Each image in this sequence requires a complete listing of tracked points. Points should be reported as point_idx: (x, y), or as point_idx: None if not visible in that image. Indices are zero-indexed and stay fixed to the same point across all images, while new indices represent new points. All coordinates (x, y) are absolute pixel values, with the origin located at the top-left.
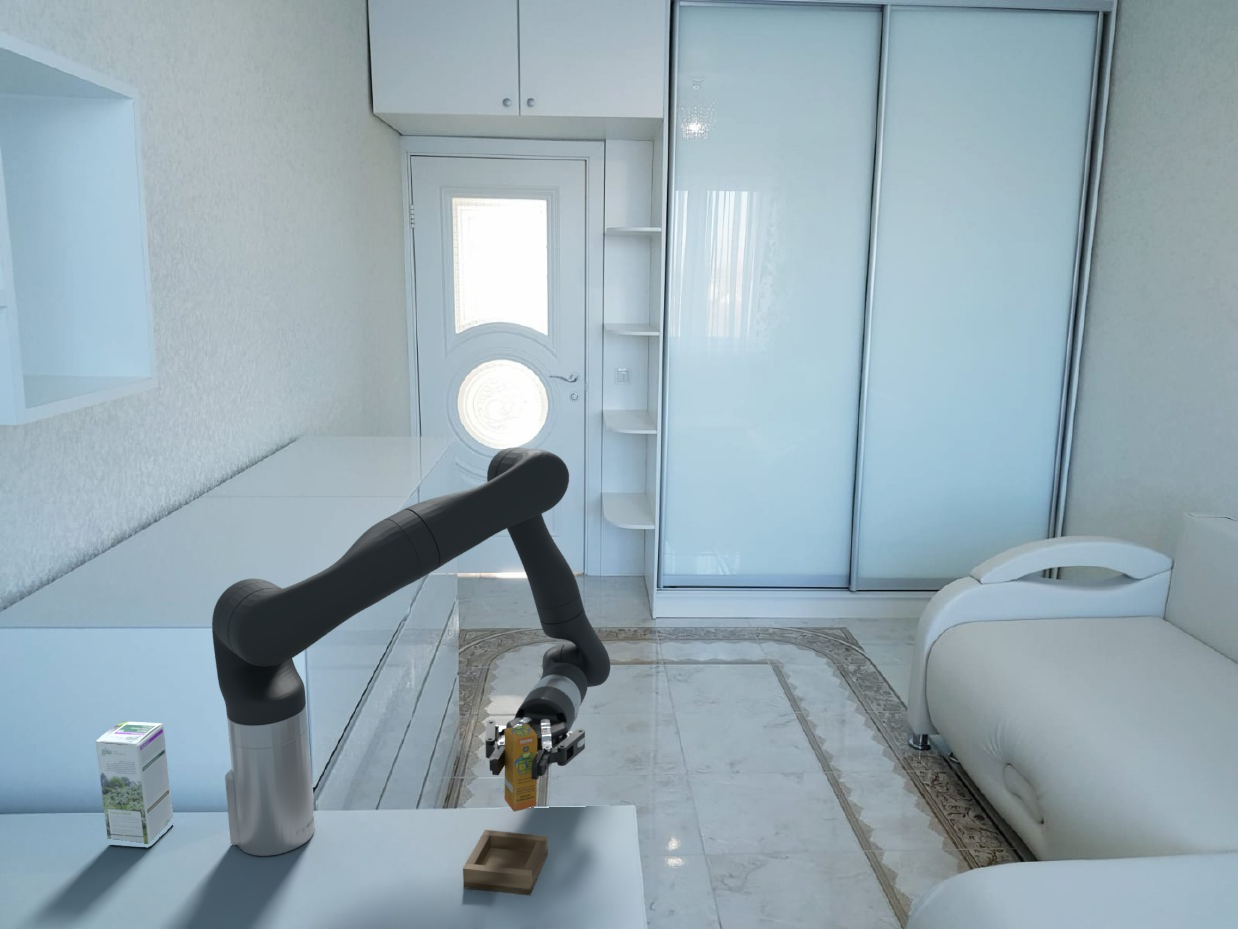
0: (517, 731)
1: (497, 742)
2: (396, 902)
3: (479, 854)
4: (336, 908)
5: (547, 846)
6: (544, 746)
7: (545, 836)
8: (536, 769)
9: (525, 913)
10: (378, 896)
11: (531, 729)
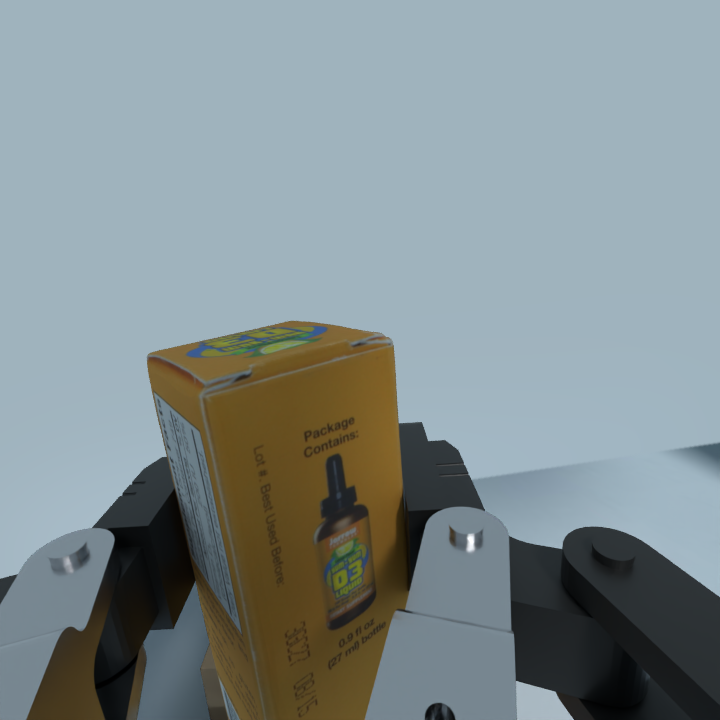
0: (287, 334)
1: (502, 524)
2: (521, 501)
3: None
4: (606, 476)
5: (207, 695)
6: (90, 556)
7: (208, 665)
8: None
9: None
10: (567, 506)
11: (178, 355)
